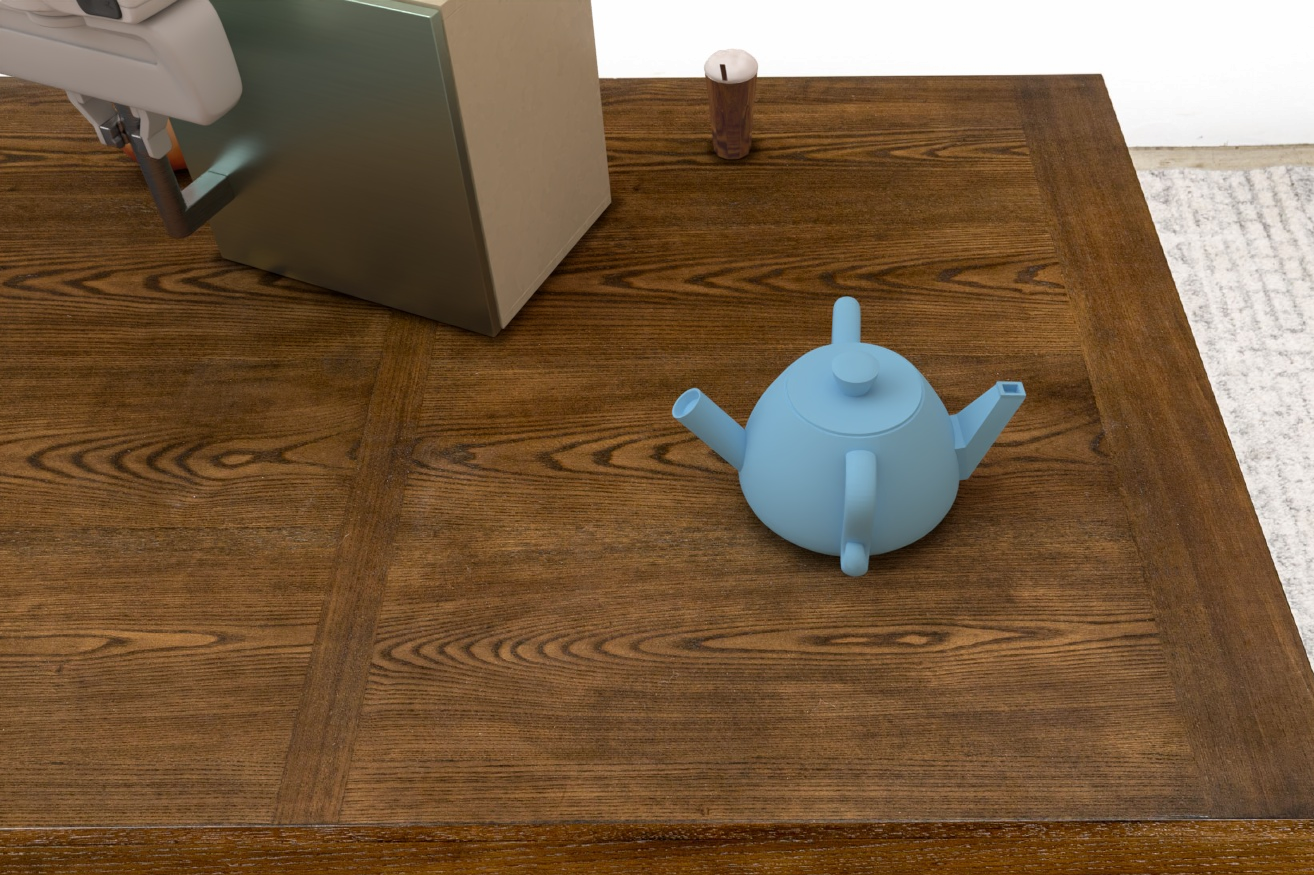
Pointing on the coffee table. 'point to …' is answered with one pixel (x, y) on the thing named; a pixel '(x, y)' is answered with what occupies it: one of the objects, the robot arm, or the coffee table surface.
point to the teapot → (852, 446)
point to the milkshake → (731, 100)
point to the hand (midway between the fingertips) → (138, 148)
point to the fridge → (528, 131)
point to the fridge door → (337, 159)
